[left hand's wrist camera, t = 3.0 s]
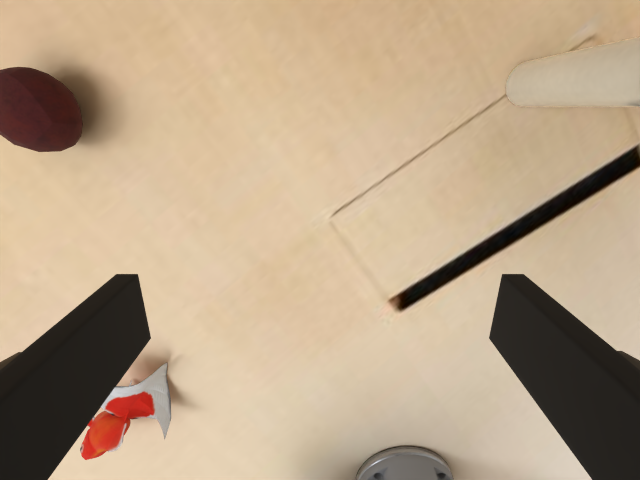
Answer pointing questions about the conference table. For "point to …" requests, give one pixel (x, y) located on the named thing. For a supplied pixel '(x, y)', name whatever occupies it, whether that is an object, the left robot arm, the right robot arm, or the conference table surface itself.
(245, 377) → the conference table surface
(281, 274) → the conference table surface
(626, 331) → the conference table surface
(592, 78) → the white cylindrical bottle
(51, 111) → the dark red ball
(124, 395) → the fish
